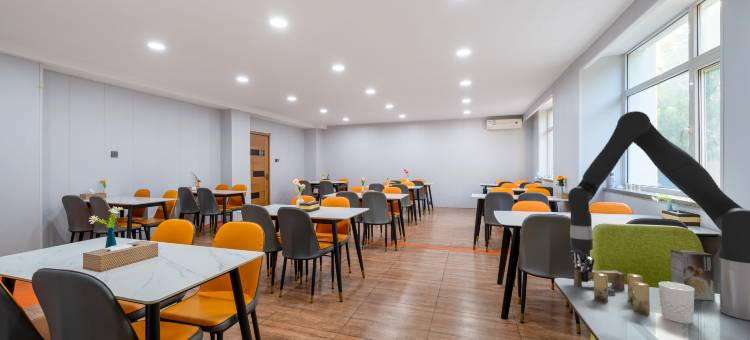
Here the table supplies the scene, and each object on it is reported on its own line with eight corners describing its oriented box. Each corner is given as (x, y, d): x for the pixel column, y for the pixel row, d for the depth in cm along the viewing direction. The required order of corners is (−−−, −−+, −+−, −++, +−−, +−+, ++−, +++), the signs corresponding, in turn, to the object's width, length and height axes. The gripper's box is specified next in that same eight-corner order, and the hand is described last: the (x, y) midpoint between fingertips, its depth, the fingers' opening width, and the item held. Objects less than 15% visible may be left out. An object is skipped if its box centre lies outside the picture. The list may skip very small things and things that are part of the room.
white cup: (703, 326, 90) (702, 291, 90) (671, 323, 91) (670, 289, 91) (682, 314, 97) (681, 282, 98) (653, 312, 99) (652, 280, 99)
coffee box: (700, 294, 113) (699, 250, 114) (715, 301, 107) (714, 254, 108) (671, 292, 115) (670, 249, 116) (684, 299, 109) (682, 253, 110)
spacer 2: (637, 299, 109) (637, 274, 109) (646, 304, 105) (645, 277, 105) (625, 299, 109) (624, 273, 110) (633, 303, 105) (632, 277, 106)
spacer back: (643, 310, 100) (643, 282, 101) (653, 315, 96) (652, 286, 97) (630, 309, 101) (629, 281, 101) (639, 314, 97) (638, 285, 97)
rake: (579, 288, 121) (578, 272, 121) (572, 283, 125) (572, 268, 126) (624, 289, 118) (624, 274, 119) (616, 285, 123) (615, 270, 124)
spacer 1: (603, 298, 110) (603, 272, 110) (610, 302, 106) (610, 276, 106) (591, 297, 111) (591, 272, 111) (598, 302, 107) (597, 276, 107)
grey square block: (608, 292, 117) (608, 286, 117) (615, 296, 113) (615, 290, 113) (596, 291, 118) (596, 286, 118) (602, 295, 113) (602, 290, 114)
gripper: (601, 240, 116) (603, 286, 115) (581, 233, 130) (582, 274, 129) (580, 240, 117) (581, 285, 116) (562, 233, 131) (563, 274, 130)
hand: (582, 279), depth 123 cm, fingers open, 3 cm apart
